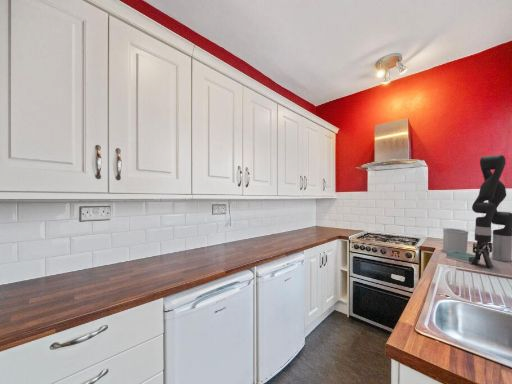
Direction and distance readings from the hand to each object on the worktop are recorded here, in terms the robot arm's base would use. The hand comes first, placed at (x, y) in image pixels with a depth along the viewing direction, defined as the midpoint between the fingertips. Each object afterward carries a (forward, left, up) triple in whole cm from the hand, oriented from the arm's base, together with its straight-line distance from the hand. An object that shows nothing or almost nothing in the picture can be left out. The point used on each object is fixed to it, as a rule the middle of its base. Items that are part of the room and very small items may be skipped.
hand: (482, 259), depth 145 cm
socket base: (-3, -13, -4) cm, 13 cm away
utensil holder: (-19, -27, -4) cm, 33 cm away
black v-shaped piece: (0, 0, -4) cm, 4 cm away
